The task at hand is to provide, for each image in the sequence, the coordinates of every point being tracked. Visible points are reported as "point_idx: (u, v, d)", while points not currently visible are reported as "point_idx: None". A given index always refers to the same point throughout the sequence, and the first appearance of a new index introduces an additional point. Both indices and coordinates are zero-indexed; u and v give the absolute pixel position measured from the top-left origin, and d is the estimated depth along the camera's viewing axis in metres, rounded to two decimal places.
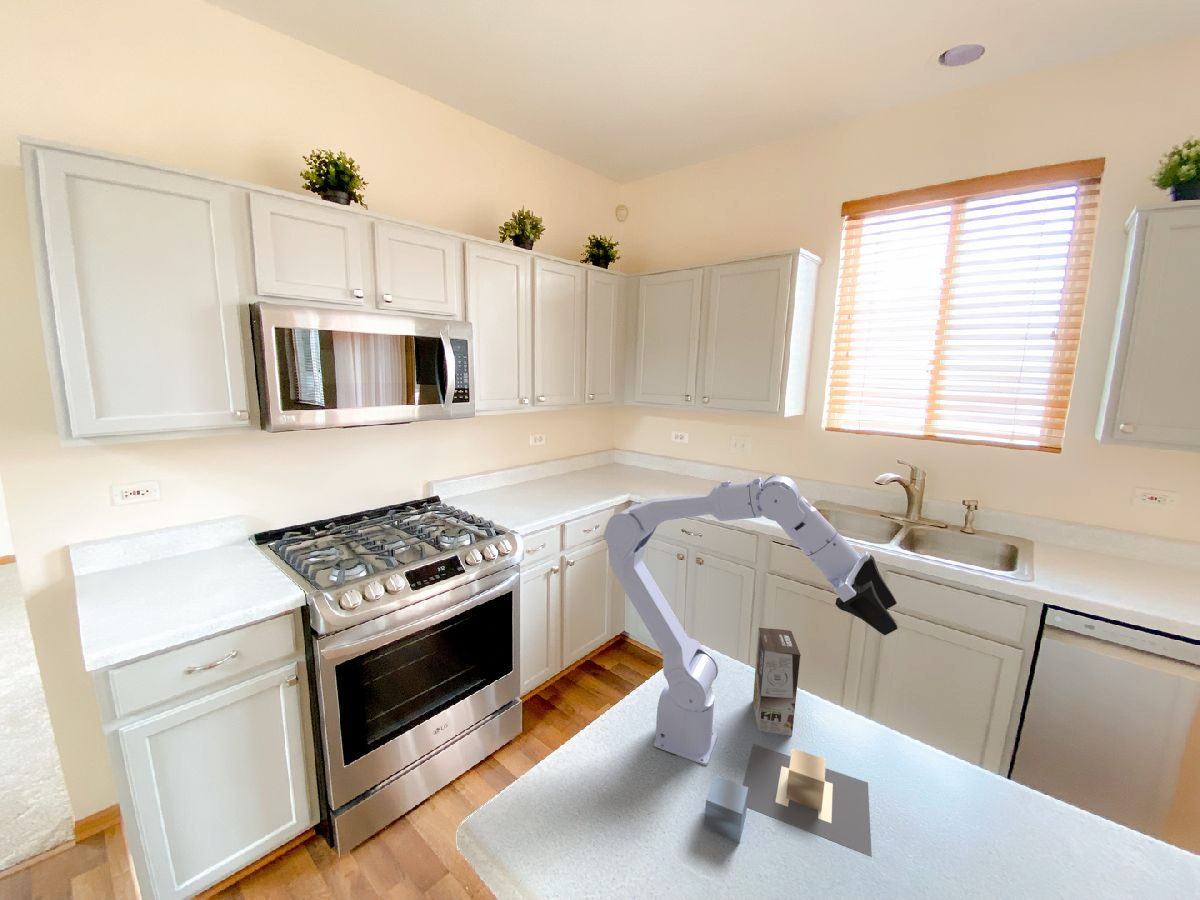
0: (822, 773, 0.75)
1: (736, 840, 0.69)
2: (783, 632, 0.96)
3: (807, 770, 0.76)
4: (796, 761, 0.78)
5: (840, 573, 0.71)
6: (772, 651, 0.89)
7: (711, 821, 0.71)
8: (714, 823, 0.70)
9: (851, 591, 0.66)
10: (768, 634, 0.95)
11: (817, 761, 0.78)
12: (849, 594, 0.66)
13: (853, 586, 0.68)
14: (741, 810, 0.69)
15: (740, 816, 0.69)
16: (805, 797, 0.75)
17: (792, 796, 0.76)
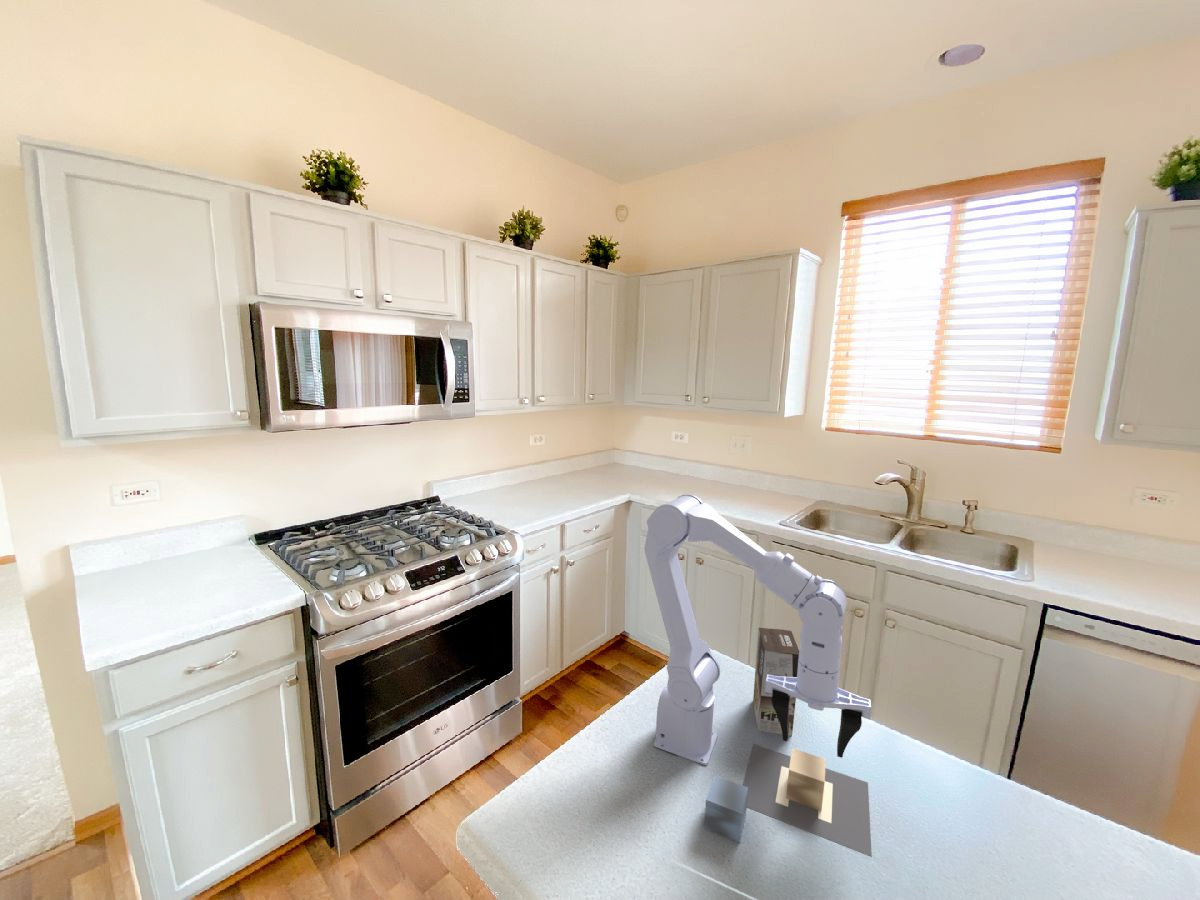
0: (822, 773, 0.75)
1: (736, 840, 0.69)
2: (783, 632, 0.96)
3: (807, 770, 0.76)
4: (796, 761, 0.78)
5: (796, 683, 0.76)
6: (772, 651, 0.89)
7: (711, 821, 0.71)
8: (714, 823, 0.71)
9: (765, 687, 0.78)
10: (768, 634, 0.95)
11: (817, 761, 0.78)
12: None
13: (782, 693, 0.77)
14: (741, 810, 0.69)
15: (740, 816, 0.69)
16: (805, 797, 0.75)
17: (792, 796, 0.76)
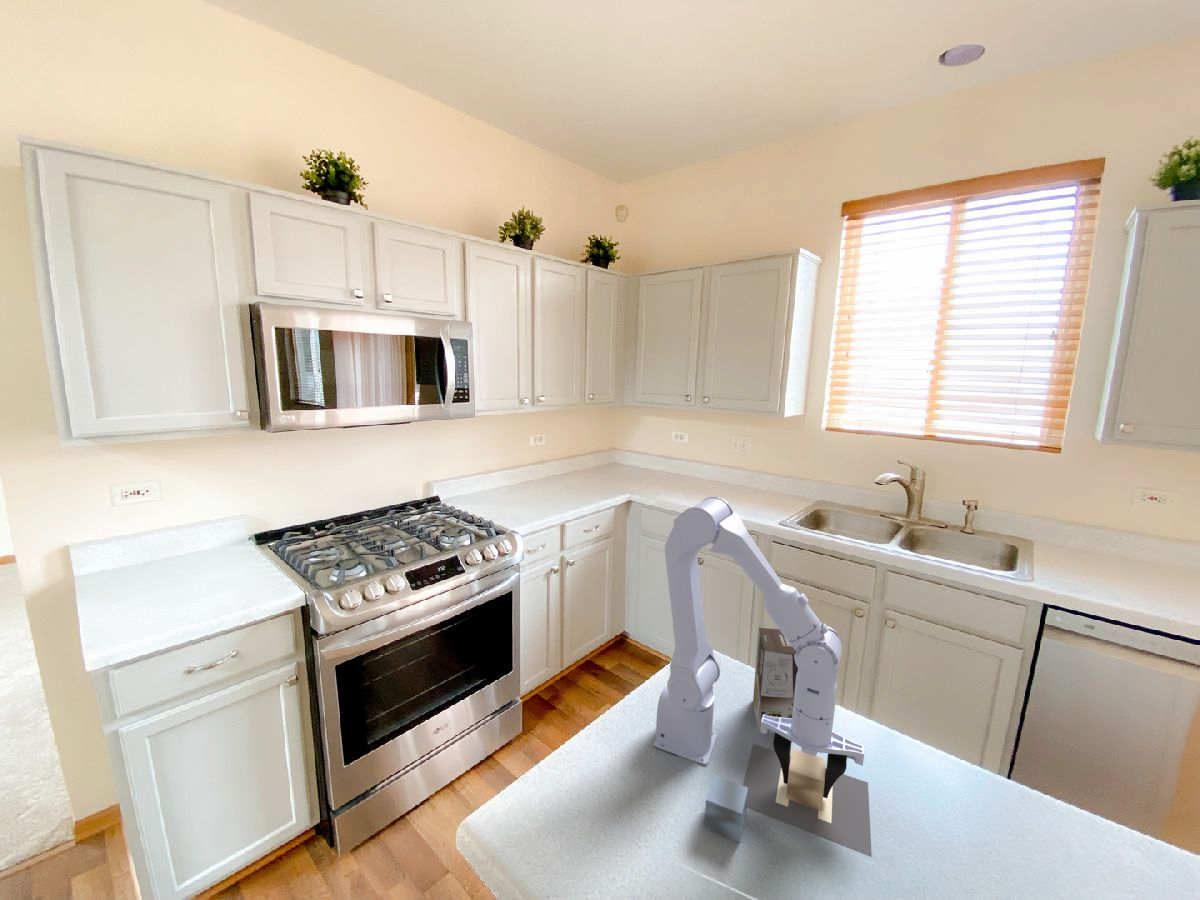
0: (822, 773, 0.75)
1: (736, 840, 0.69)
2: None
3: (807, 770, 0.76)
4: (796, 761, 0.78)
5: (791, 725, 0.78)
6: (772, 651, 0.89)
7: (711, 821, 0.71)
8: (714, 823, 0.71)
9: None
10: (768, 634, 0.95)
11: (817, 761, 0.78)
12: None
13: (776, 734, 0.78)
14: (741, 810, 0.69)
15: (740, 816, 0.69)
16: (805, 797, 0.75)
17: (792, 796, 0.76)
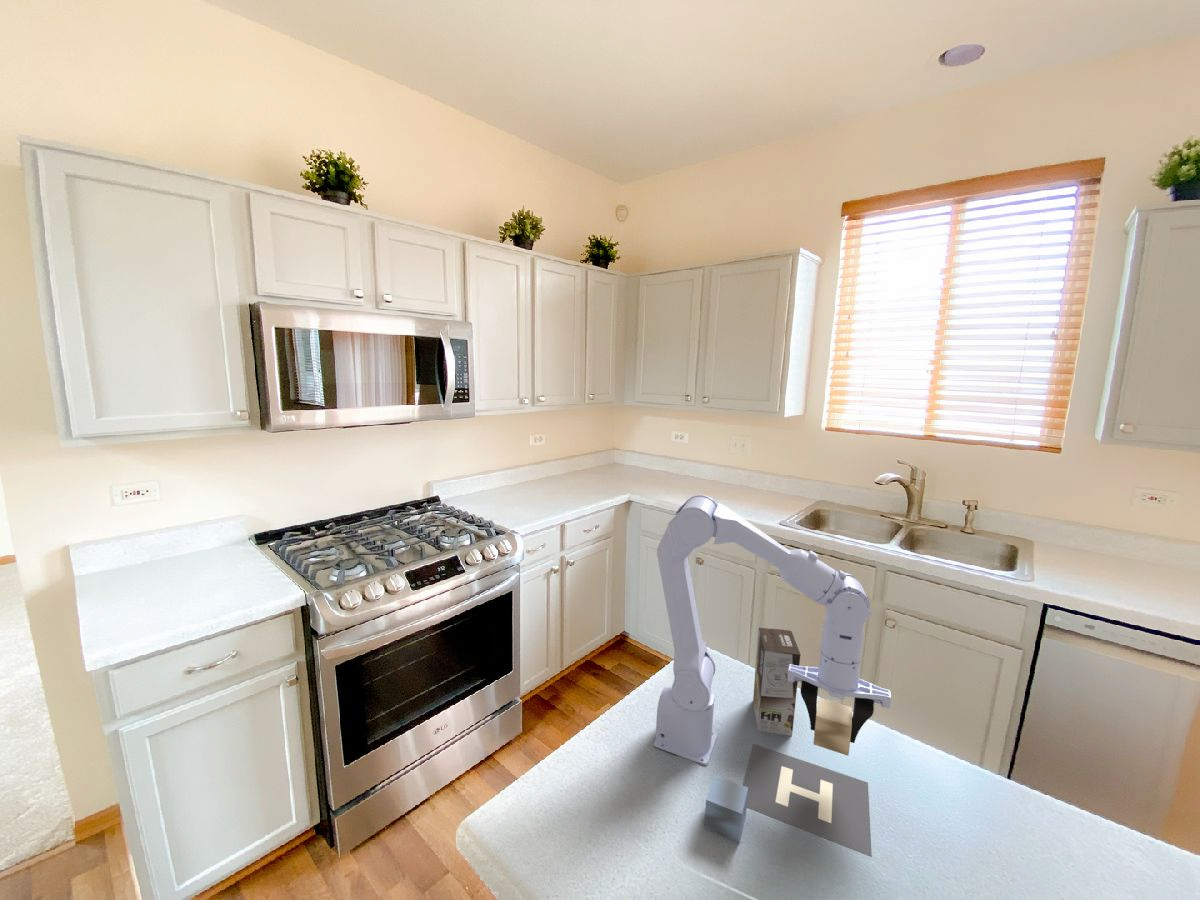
0: (849, 719, 0.77)
1: (736, 840, 0.69)
2: (783, 632, 0.96)
3: (834, 717, 0.78)
4: (822, 708, 0.80)
5: (818, 673, 0.79)
6: (772, 651, 0.89)
7: (711, 820, 0.71)
8: (714, 823, 0.71)
9: None
10: (768, 634, 0.95)
11: (843, 709, 0.80)
12: (788, 675, 0.81)
13: (803, 682, 0.80)
14: (741, 810, 0.69)
15: (740, 816, 0.69)
16: (832, 742, 0.77)
17: (819, 742, 0.78)
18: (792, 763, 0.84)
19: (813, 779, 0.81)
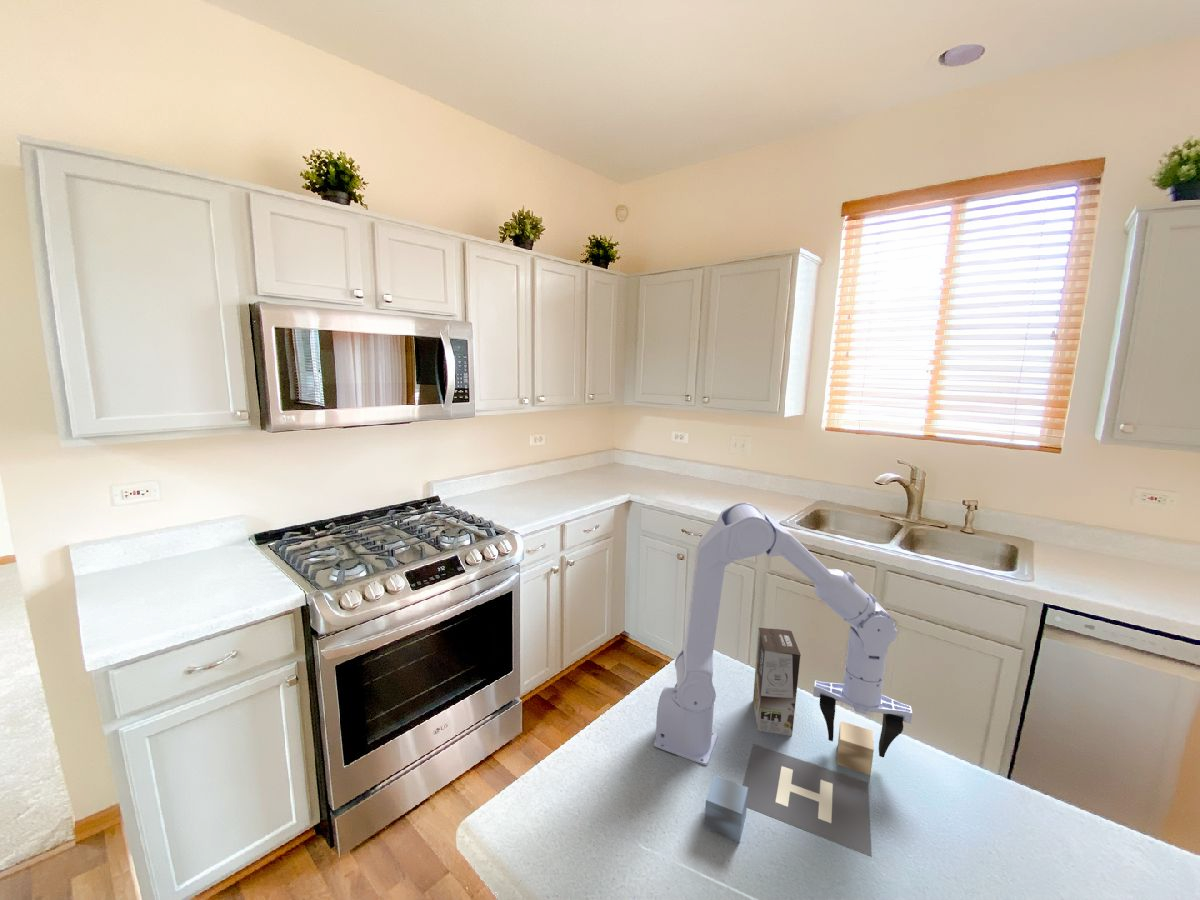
0: (870, 742, 0.83)
1: (736, 840, 0.69)
2: (783, 632, 0.96)
3: (856, 740, 0.83)
4: (845, 732, 0.85)
5: (842, 689, 0.84)
6: (772, 651, 0.89)
7: (711, 821, 0.71)
8: (714, 823, 0.70)
9: None
10: (768, 634, 0.95)
11: (865, 732, 0.85)
12: None
13: (828, 697, 0.85)
14: (741, 810, 0.69)
15: (740, 816, 0.69)
16: (855, 764, 0.83)
17: (842, 763, 0.83)
18: (792, 763, 0.84)
19: (813, 779, 0.81)
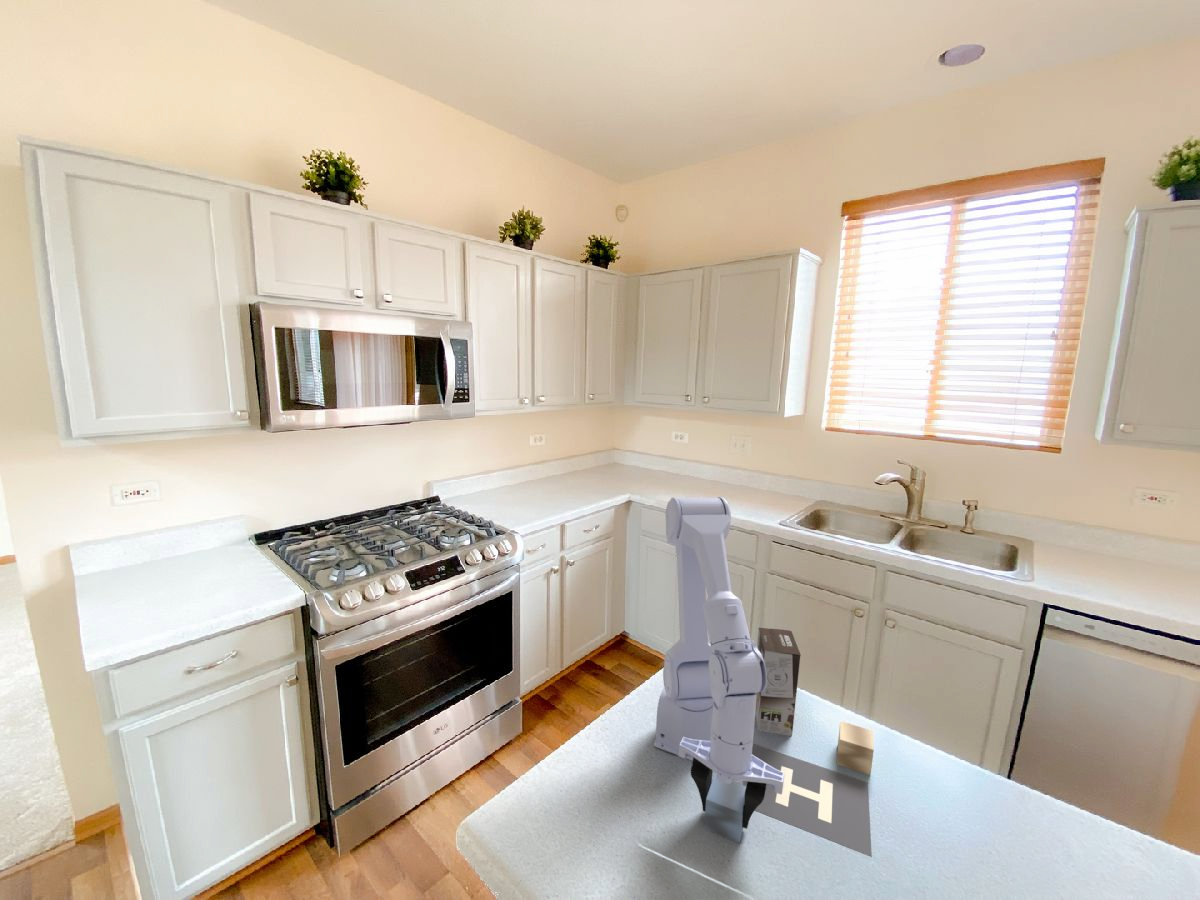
0: (870, 742, 0.83)
1: (736, 839, 0.69)
2: (783, 632, 0.96)
3: (856, 740, 0.83)
4: (845, 732, 0.85)
5: None
6: (772, 651, 0.89)
7: (711, 820, 0.71)
8: (714, 823, 0.70)
9: (679, 751, 0.73)
10: (768, 634, 0.95)
11: (865, 732, 0.85)
12: None
13: (695, 759, 0.73)
14: (741, 809, 0.69)
15: (740, 815, 0.69)
16: (855, 764, 0.83)
17: (842, 763, 0.83)
18: (792, 763, 0.84)
19: (813, 779, 0.81)
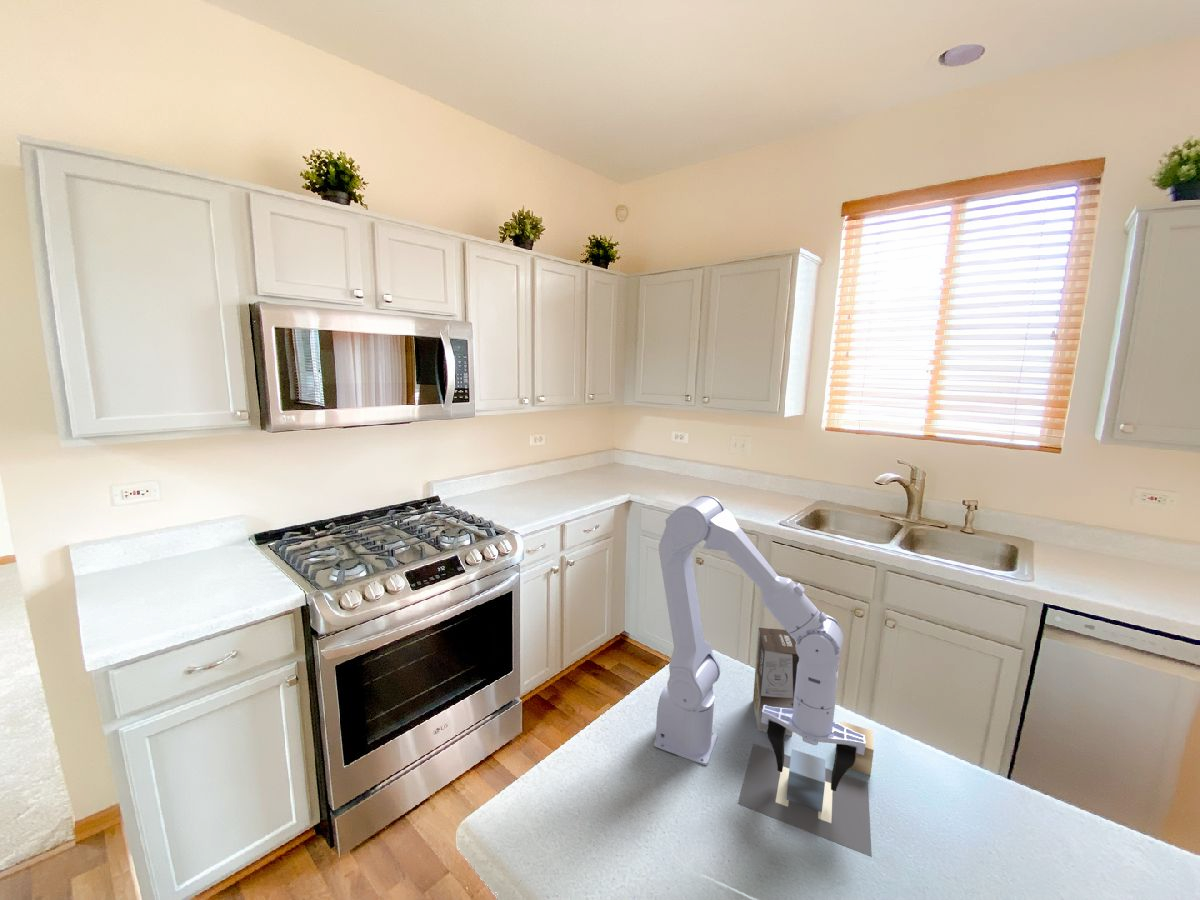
0: (870, 742, 0.83)
1: (819, 807, 0.75)
2: (783, 632, 0.96)
3: None
4: None
5: (792, 715, 0.77)
6: (772, 651, 0.89)
7: (794, 790, 0.76)
8: (797, 793, 0.76)
9: (761, 718, 0.79)
10: (768, 634, 0.95)
11: (865, 732, 0.85)
12: (761, 717, 0.79)
13: (777, 724, 0.78)
14: (823, 779, 0.74)
15: (823, 785, 0.74)
16: (855, 764, 0.83)
17: None
18: None
19: None
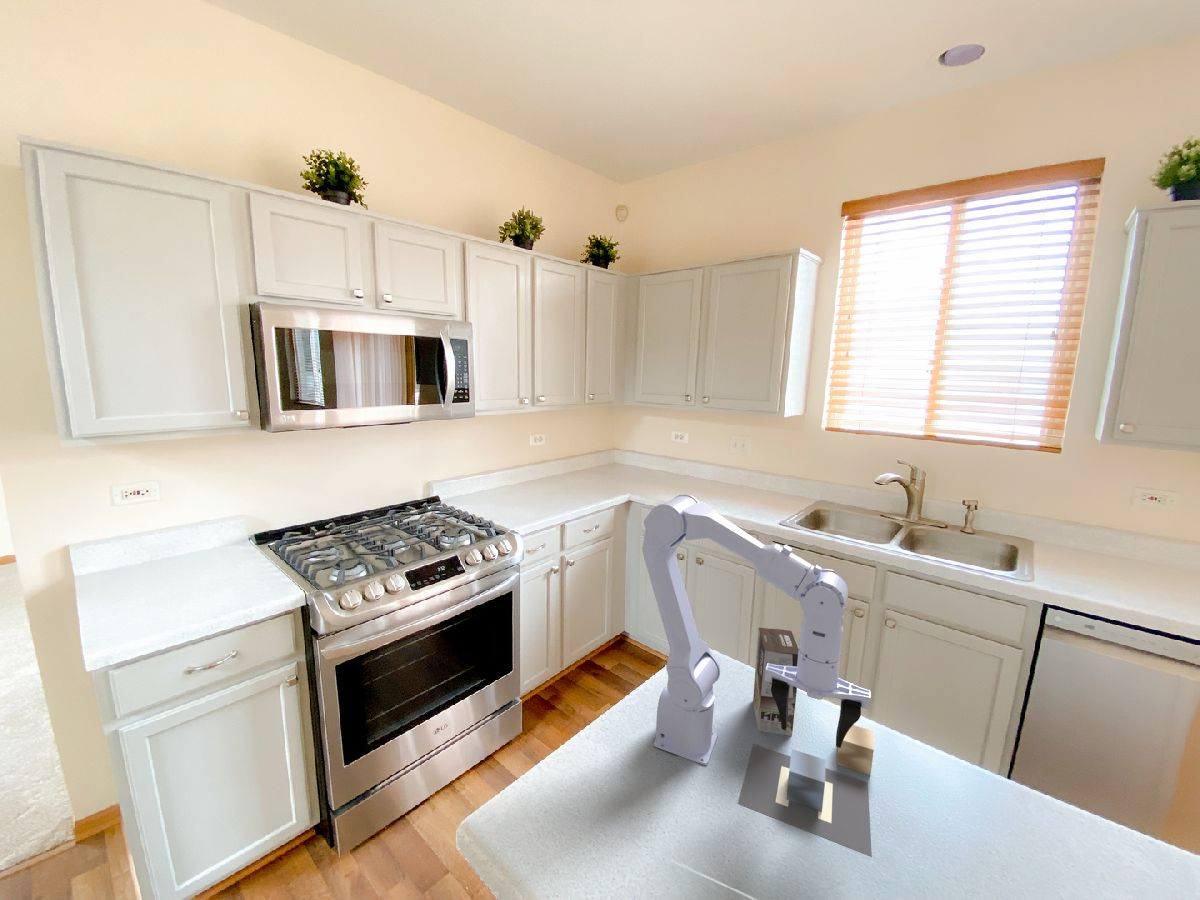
0: (870, 742, 0.83)
1: (819, 807, 0.75)
2: (783, 632, 0.96)
3: (856, 740, 0.83)
4: None
5: (796, 672, 0.76)
6: (772, 651, 0.89)
7: (794, 790, 0.76)
8: (797, 793, 0.76)
9: (765, 676, 0.77)
10: (768, 634, 0.95)
11: (865, 732, 0.85)
12: (765, 675, 0.78)
13: (781, 682, 0.77)
14: (823, 779, 0.74)
15: (823, 785, 0.74)
16: (855, 764, 0.83)
17: (842, 763, 0.83)
18: None
19: None
